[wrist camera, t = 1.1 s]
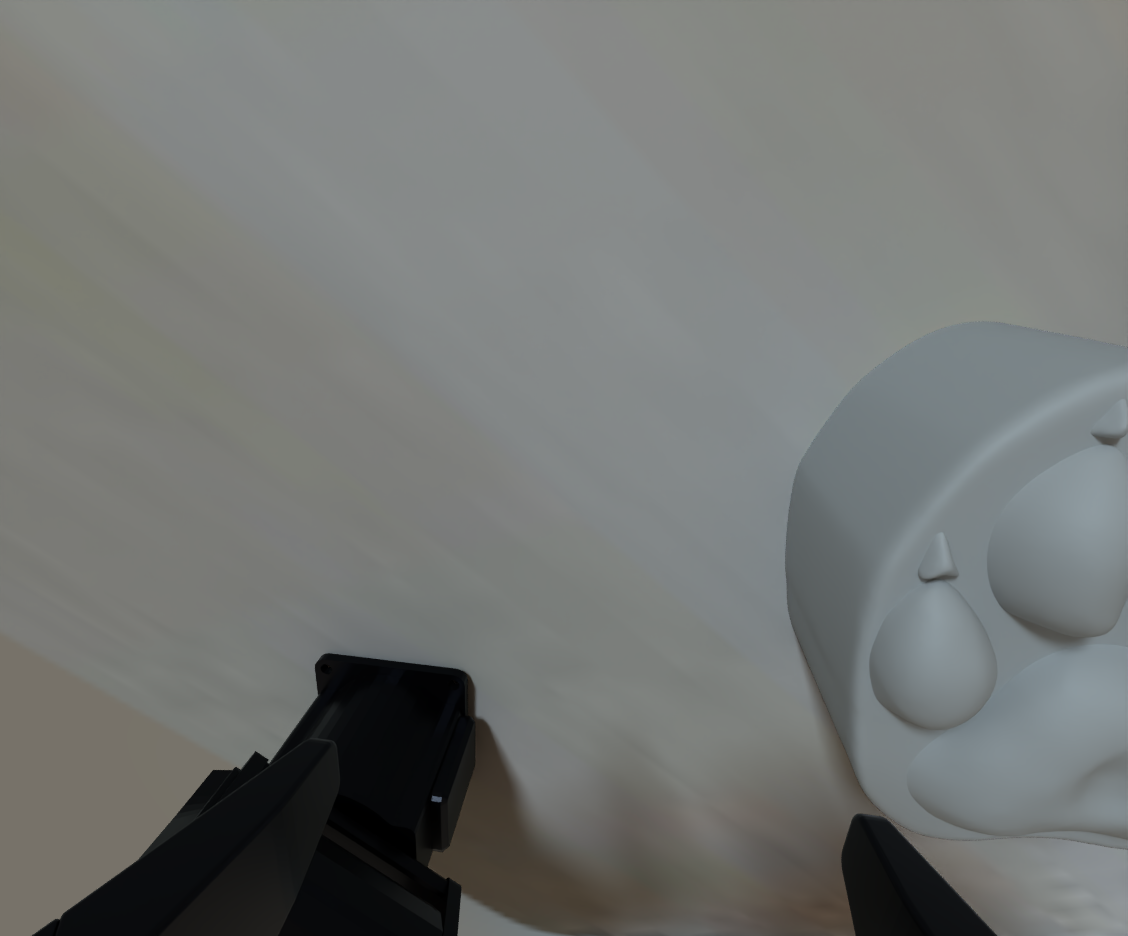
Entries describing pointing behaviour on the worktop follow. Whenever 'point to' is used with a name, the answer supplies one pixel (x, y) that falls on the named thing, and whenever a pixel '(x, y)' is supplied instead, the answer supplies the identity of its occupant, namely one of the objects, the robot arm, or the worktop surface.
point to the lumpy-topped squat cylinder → (974, 583)
